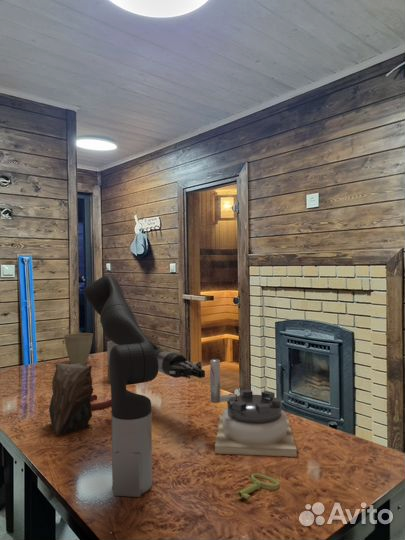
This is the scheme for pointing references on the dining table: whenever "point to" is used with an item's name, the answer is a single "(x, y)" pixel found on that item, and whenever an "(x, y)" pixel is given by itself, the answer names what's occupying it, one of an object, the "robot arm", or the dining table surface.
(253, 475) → the key
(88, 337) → the plant pot
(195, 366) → the robot arm
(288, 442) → the base board
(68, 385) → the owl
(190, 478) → the dining table surface
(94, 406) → the pliers
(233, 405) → the cap with crank handle
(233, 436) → the cap housing
